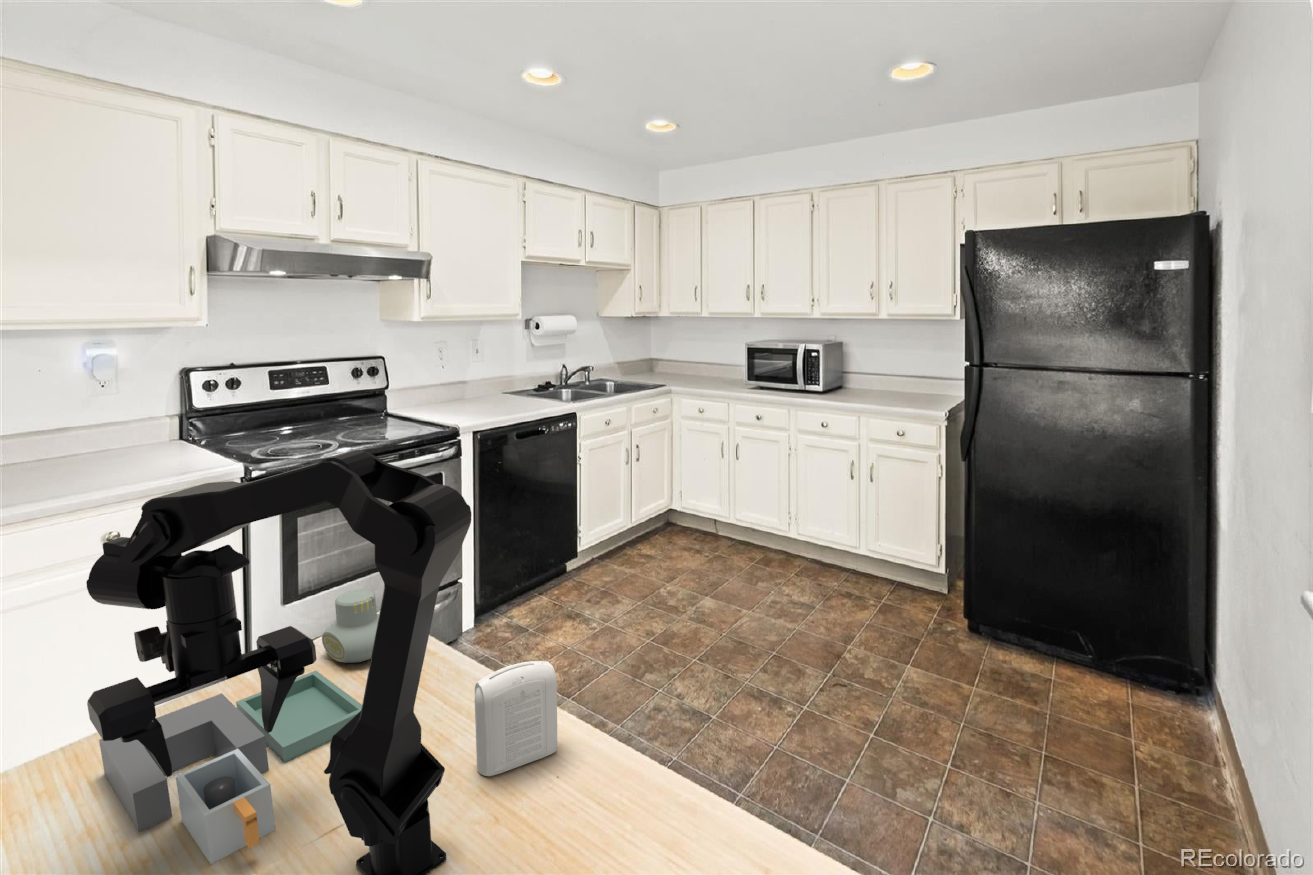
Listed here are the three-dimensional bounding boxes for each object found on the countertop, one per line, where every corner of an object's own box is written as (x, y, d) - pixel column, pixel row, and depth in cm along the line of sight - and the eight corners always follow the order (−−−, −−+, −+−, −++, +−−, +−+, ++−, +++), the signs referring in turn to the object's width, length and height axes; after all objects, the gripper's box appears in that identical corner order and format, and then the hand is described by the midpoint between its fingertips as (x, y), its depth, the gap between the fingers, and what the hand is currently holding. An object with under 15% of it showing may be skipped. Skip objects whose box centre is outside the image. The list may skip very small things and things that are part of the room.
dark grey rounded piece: (242, 816, 73) (238, 784, 73) (213, 831, 71) (209, 798, 71) (232, 805, 75) (228, 773, 74) (203, 819, 73) (199, 786, 72)
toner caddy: (288, 849, 70) (283, 798, 69) (223, 886, 65) (216, 832, 64) (243, 795, 78) (238, 748, 76) (182, 825, 73) (175, 775, 72)
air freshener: (317, 653, 109) (312, 595, 107) (366, 634, 116) (361, 579, 114) (353, 676, 103) (347, 614, 101) (402, 654, 109) (398, 596, 107)
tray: (368, 725, 90) (367, 708, 90) (285, 766, 82) (283, 747, 82) (317, 685, 100) (316, 670, 99) (238, 718, 92) (236, 701, 91)
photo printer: (548, 735, 89) (546, 648, 86) (563, 752, 85) (561, 662, 83) (472, 763, 83) (467, 671, 81) (484, 783, 80) (479, 687, 77)
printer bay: (269, 773, 81) (265, 735, 80) (139, 835, 71) (132, 793, 70) (226, 727, 90) (221, 693, 89) (105, 777, 80) (98, 739, 79)
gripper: (269, 565, 80) (282, 687, 82) (62, 620, 65) (87, 764, 68) (311, 590, 73) (324, 722, 75) (90, 657, 58) (117, 816, 61)
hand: (220, 751), depth 70 cm, fingers open, 9 cm apart
